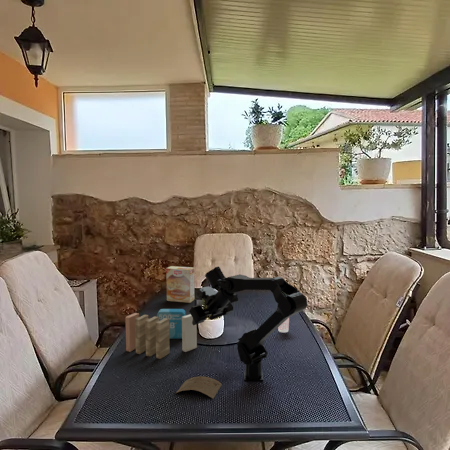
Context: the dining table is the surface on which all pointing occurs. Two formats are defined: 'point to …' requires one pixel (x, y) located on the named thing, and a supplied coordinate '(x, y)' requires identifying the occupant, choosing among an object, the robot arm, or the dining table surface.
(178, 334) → the data package
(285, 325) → the beverage cup
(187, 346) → the domino
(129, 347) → the end domino
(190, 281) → the coffeecake box
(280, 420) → the dining table surface
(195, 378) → the curved brown sheet
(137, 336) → the domino
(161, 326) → the domino
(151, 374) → the dining table surface
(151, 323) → the domino
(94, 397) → the dining table surface
